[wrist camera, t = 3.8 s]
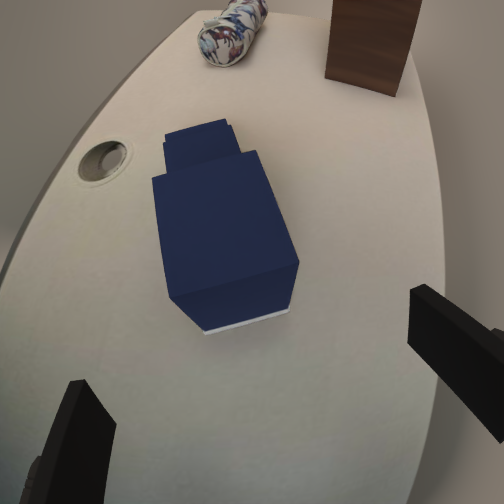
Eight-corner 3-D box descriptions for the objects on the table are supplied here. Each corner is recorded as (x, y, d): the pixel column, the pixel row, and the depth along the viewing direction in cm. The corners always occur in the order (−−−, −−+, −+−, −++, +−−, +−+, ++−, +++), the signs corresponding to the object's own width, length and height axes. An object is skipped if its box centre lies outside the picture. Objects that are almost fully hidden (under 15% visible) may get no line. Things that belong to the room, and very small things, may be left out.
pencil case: (247, 70, 45) (243, 20, 36) (199, 68, 46) (190, 22, 38) (269, 25, 54) (268, -12, 45) (232, 23, 55) (228, -12, 46)
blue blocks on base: (289, 312, 28) (302, 261, 17) (205, 335, 28) (165, 299, 17) (232, 144, 37) (221, 65, 27) (171, 160, 37) (143, 85, 26)
